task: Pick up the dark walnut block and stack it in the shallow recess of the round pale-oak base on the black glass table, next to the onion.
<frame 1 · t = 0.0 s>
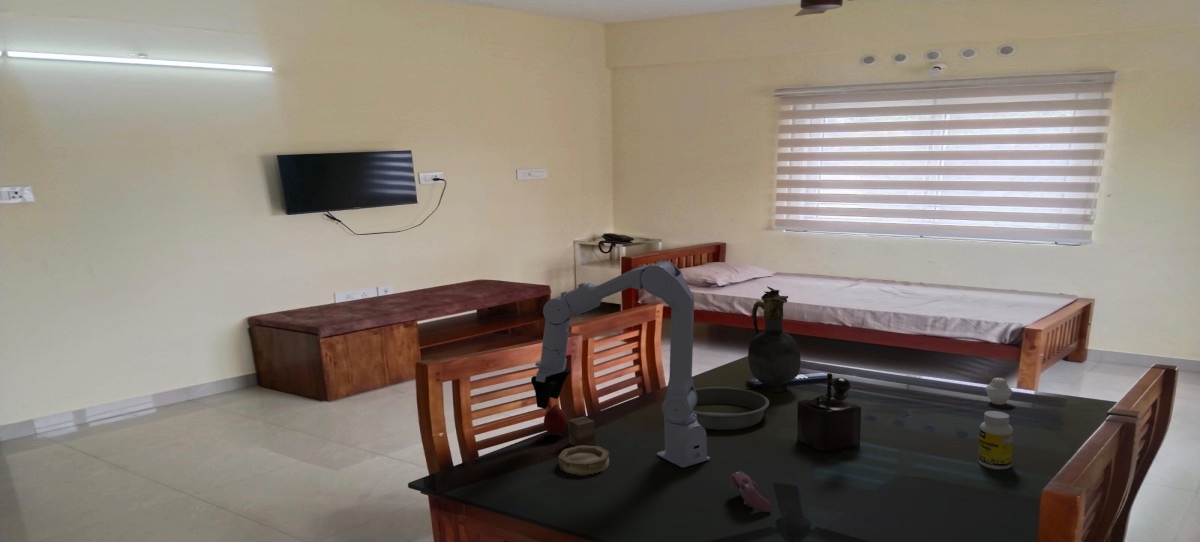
hand: (547, 402, 175), 11 cm above the table, tool pointing down, fingers open, 7 cm apart
pink animal figurine: (749, 504, 143), on the table
pitcher: (770, 387, 217), on the table
manual coffee grinder: (834, 447, 170), on the table
cake pan: (721, 417, 194), on the table
white rounded lump: (998, 403, 196), on the table
walnut block: (582, 444, 176), on the table
pill bottle: (994, 465, 157), on the table
onion: (556, 436, 182), on the table
base: (584, 465, 163), on the table
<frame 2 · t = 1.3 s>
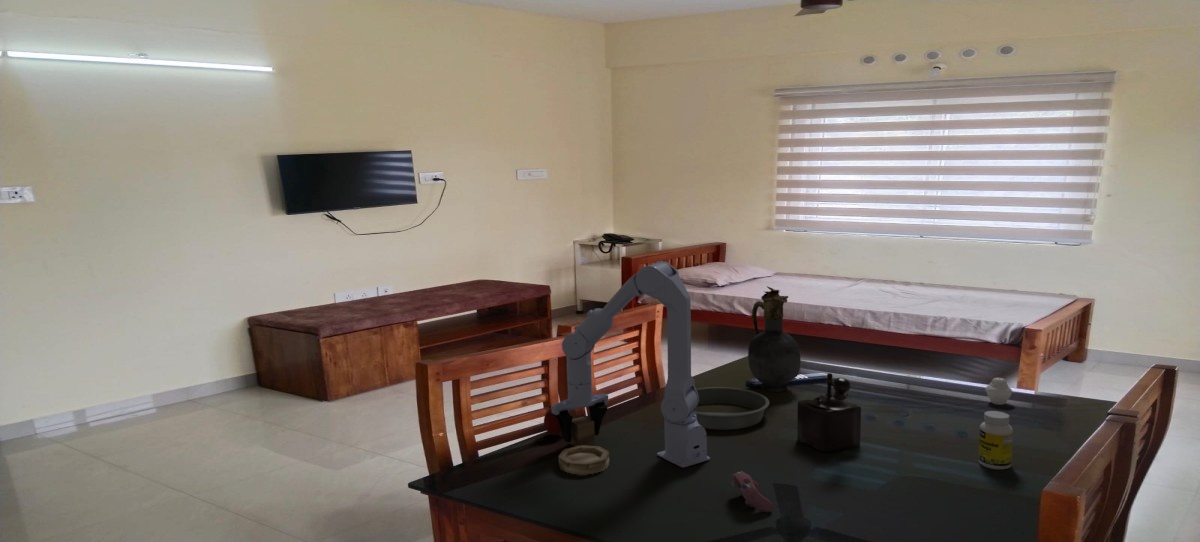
hand: (581, 437, 176), 2 cm above the table, tool pointing down, fingers open, 7 cm apart
nothing on the table moved.
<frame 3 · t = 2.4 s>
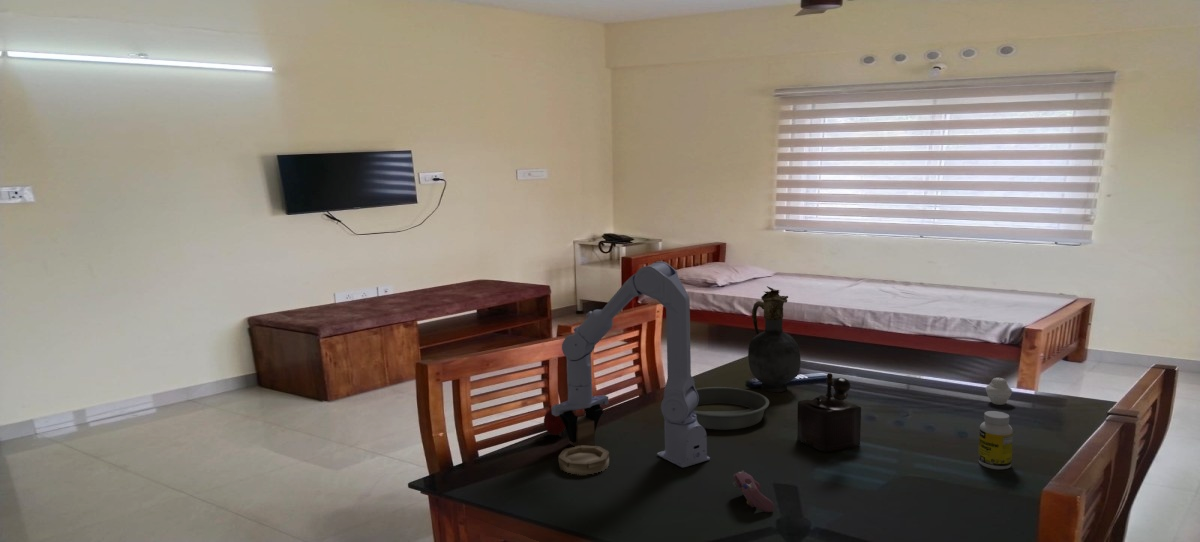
hand: (581, 438, 176), 1 cm above the table, tool pointing down, fingers closed on walnut block, 4 cm apart
walnut block: (581, 444, 176), on the table, touching gripper
everything else where it was.
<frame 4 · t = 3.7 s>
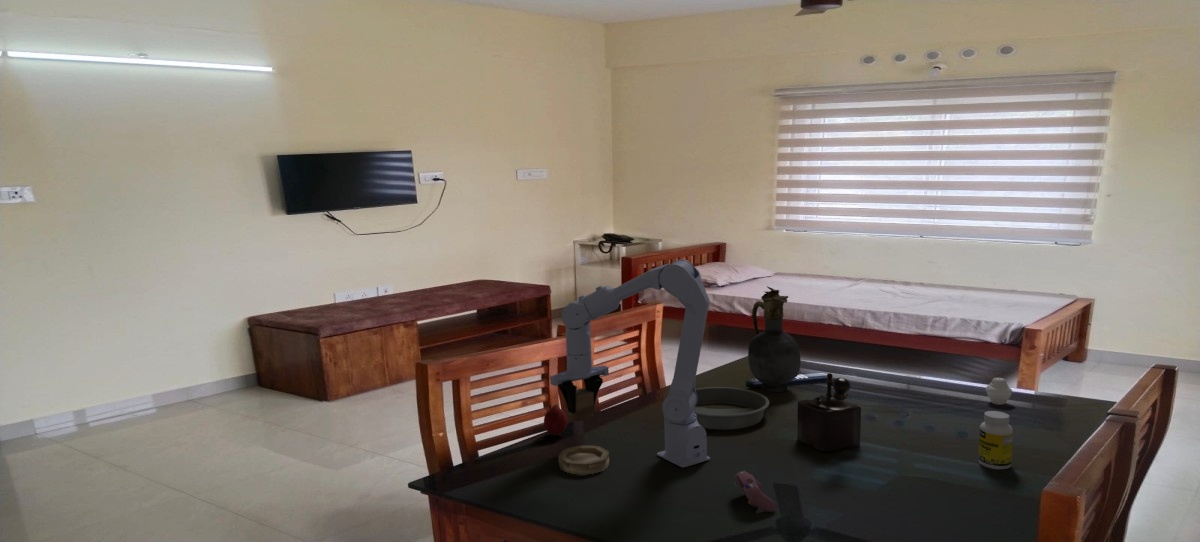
hand: (581, 410, 172), 9 cm above the table, tool pointing down, fingers closed on walnut block, 4 cm apart
walnut block: (581, 416, 172), point 8 cm above the table, touching gripper
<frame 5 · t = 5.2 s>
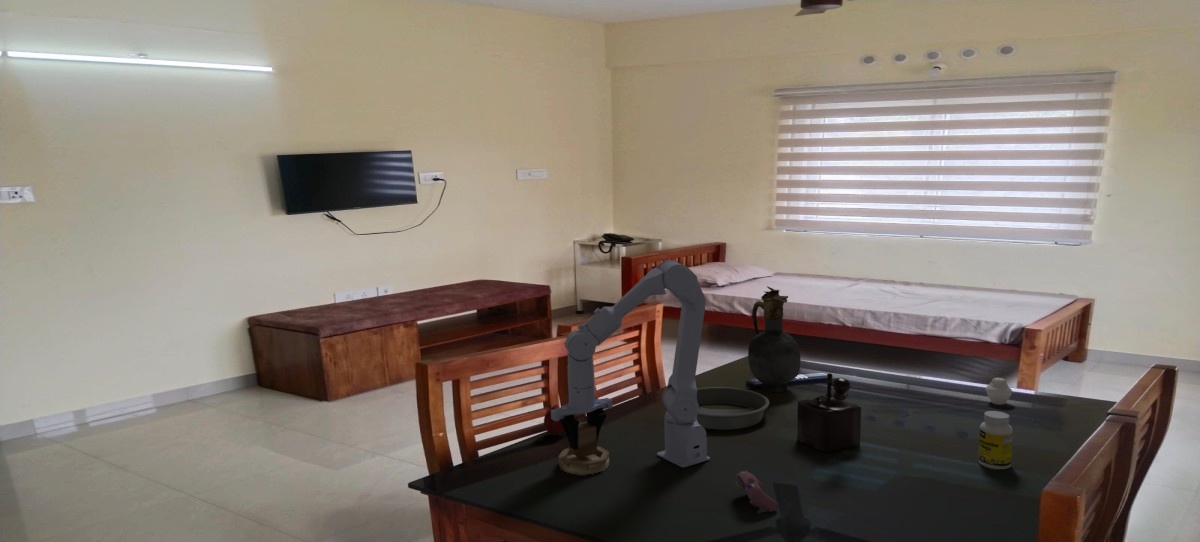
hand: (583, 445, 163), 5 cm above the table, tool pointing down, fingers closed on walnut block, 4 cm apart
walnut block: (583, 452, 163), point 3 cm above the table, touching gripper
when the fingers open (4 cm above the table, at t = 6.1 s): walnut block drops 1 cm, resting on base.
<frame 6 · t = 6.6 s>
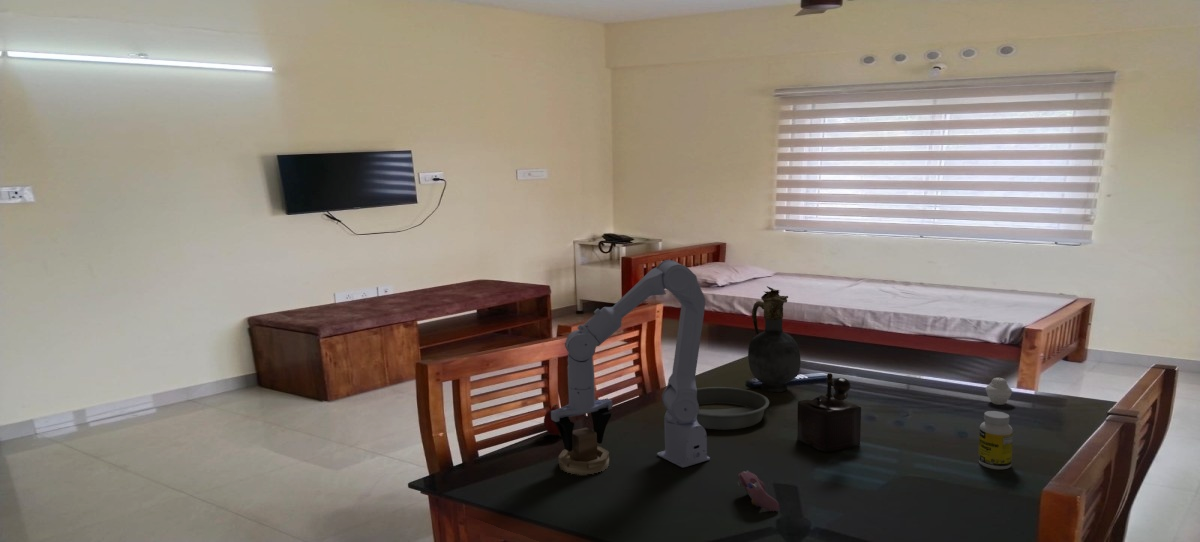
hand: (583, 446, 163), 4 cm above the table, tool pointing down, fingers open, 7 cm apart
walnut block: (583, 458, 163), point 1 cm above the table, touching base
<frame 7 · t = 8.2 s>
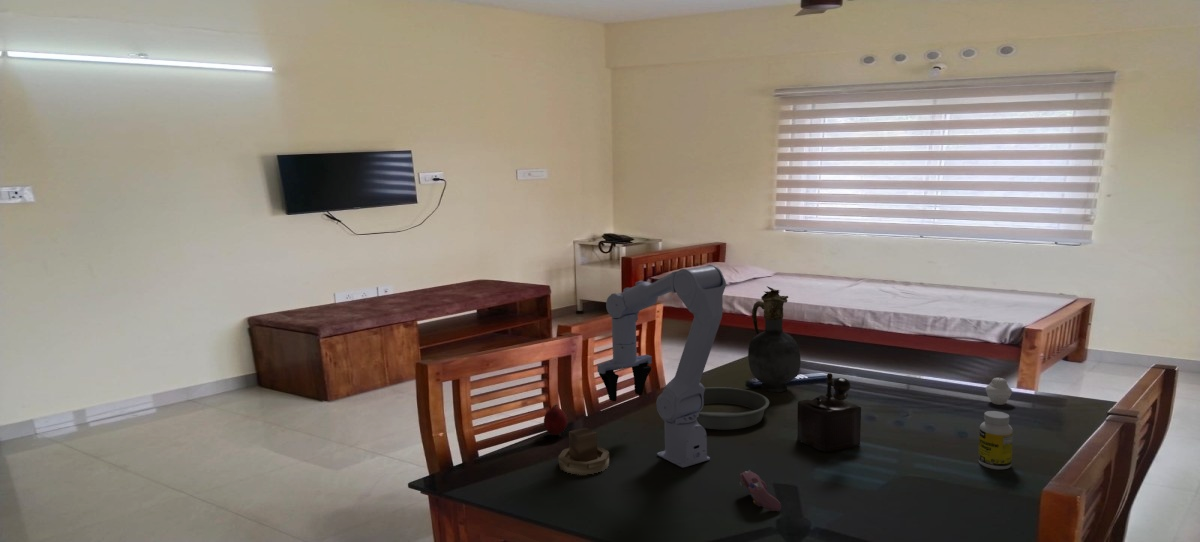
hand: (625, 397, 179), 10 cm above the table, tool pointing down, fingers open, 7 cm apart
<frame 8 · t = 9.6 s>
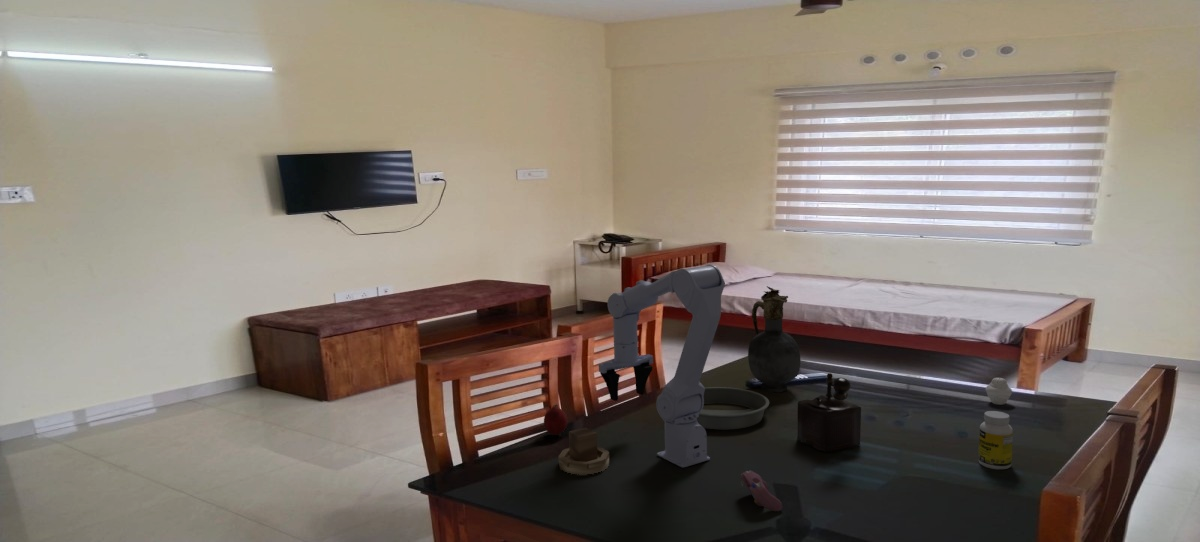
hand: (627, 396, 179), 10 cm above the table, tool pointing down, fingers open, 7 cm apart
at the end: walnut block inside the target area on the base (0.2 cm from its centre), point 1.5 cm above the base's base; walnut block tilted 0°; the gripper is holding nothing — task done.
